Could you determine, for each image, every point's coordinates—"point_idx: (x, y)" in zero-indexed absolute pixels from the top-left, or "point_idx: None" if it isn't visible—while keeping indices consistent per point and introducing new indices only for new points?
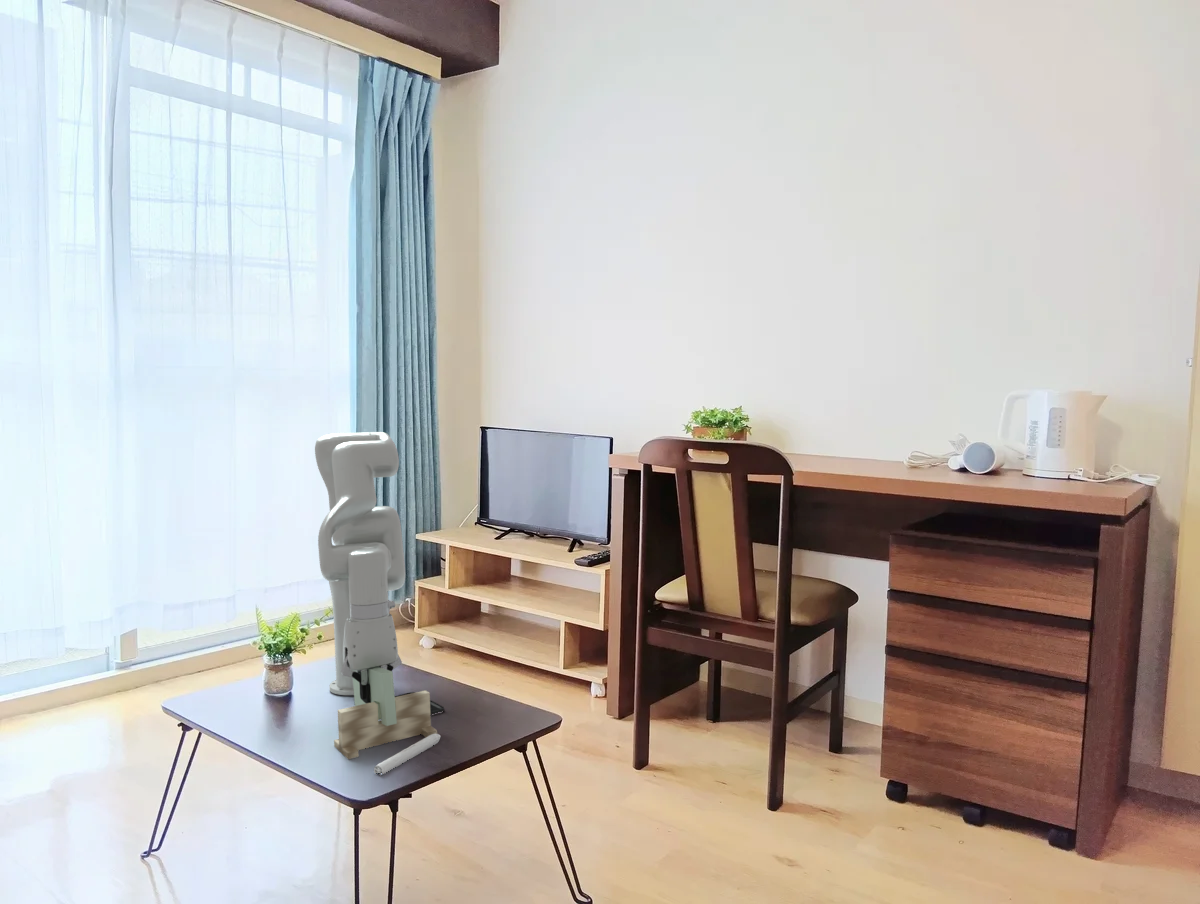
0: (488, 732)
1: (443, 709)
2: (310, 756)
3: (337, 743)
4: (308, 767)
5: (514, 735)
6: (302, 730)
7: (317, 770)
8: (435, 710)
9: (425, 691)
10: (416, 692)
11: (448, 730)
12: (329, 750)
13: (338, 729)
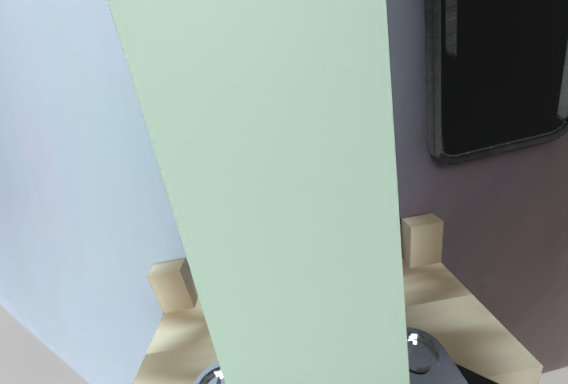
0: (533, 326)
1: (561, 133)
2: (88, 302)
3: (158, 301)
4: (93, 356)
5: (560, 357)
6: (6, 54)
7: (118, 374)
8: (534, 132)
9: (532, 378)
10: (494, 377)
11: (470, 281)
12: (141, 284)
13: (144, 358)
